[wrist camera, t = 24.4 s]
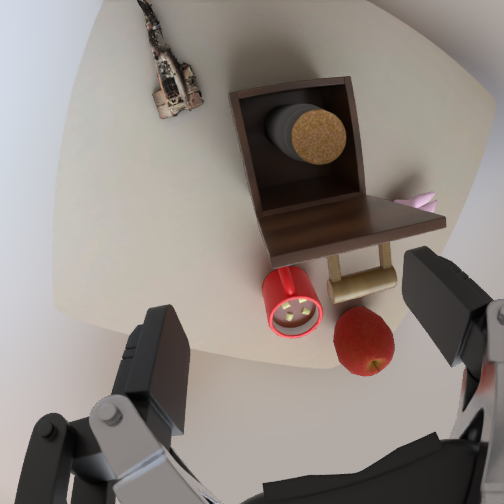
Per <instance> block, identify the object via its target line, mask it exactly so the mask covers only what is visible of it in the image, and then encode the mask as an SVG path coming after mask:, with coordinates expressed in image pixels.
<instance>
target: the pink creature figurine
mask: <svg viewBox="0 0 504 504" xmlns="http://www.w3.org/2000/svg"><path fill="white" fill-rule="evenodd" d="M434 195H435V192H428V193H424V194H420V195H417V196H415V197H413V198H412V199H410V200H394V201H393V202H396V203H400V204H403V205H407V206H411V207H414V208H418V207H420V206H422V205H424V204H425V203H427V202H428V201H429V200H430V199H431V198H432V197H433V196H434ZM436 205H437V200H435V201H433V202H430V203H428V204H426V205H424V206H422V207H420V208H418V209H421V210H425V211H428V212H431V213H433V211H434V210H435V207H436Z"/></svg>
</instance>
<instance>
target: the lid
mask: <svg viewBox="0 0 504 504" xmlns="http://www.w3.org/2000/svg"><path fill="white" fill-rule="evenodd" d="M257 221H258V225H259V229H260V232H261V235H262V238H263V242H264V245H265V248H266V251H267V254H268V258H269V261H270V264H271V268H272V269H276V268H280V267H285V266H289V265H294V264H298V263H302V262H307V261H311V260H315V259H320V258H324V257H327V262H328V269H329V276H330V279H329V280H328V281H327V288H328V293H329V297H330V300H331V302H332V303H333V304H336V303H340V302H344V301H348V300H351V299H355V298H359V297H362V296H366V295H370V294H373V293H377V292H380V291H384V290H387V289H390V288H394V287H395V286H396V285H397V275H396V271H395V269H394V267H393V266H392V265H391V251H390V242H391V241H395V240H399V239H403V238H407V237H411V236H415V235H419V234H423V233H426V232H430V231H434V230H438V229H442V228H446V217H445V216H441V215H438V214H435V213H431V212H428V211H425V210H421V209H418V208H414V207H411V206H407V205H403V204H400V203H396V202H392V201H388V200H384V199H381V198H377V197H373V196H369V195H365V196H360V197H355V198H350V199H345V200H340V201H335V202H330V203H325V204H320V205H315V206H310V207H305V208H301V209H296V210H291V211H286V212H282V213H277V214H273V215H268V216H263V217H259V218H257ZM374 245H378V247H379V258H380V266H379V267H376V268H372V269H368V270H364V271H360V272H356V273H353V274H349V275H345V276H341V272H340V264H339V257H338V254H341V253H345V252H349V251H354V250H358V249H362V248H366V247H370V246H374Z"/></svg>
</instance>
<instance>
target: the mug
mask: <svg viewBox="0 0 504 504" xmlns="http://www.w3.org/2000/svg"><path fill="white" fill-rule="evenodd" d="M262 292H263V297H264V303H265V308H266V313H267V318H268V323H269V327H270V328H271V330H272V331H273V332H274V333H275V334H277V335H278V336H281V337H284V338H298V337H302V336H305V335H307V334H309V333H311V332H312V331H313V330H315V329H316V327H317V326H318V325H319V324H320V322H321V320H322V317H323V308H322V306H321V303H320V301H319V299H318V297H317V294H316V292H315V290H314V288H313V285H312V283H311V281H310V279H309V276H308V275H307V274H306V272H304V271H303V270H302V269H300V268H297V267H292V266H285V267H280V268H277V269H276V270H274V271H273V272H271V273H270V274H269V275H268V276H267V277H266V279H265V281H264V283H263V286H262Z"/></svg>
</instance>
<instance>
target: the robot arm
mask: <svg viewBox="0 0 504 504" xmlns="http://www.w3.org/2000/svg"><path fill="white" fill-rule="evenodd" d="M402 295H403V299H404V301H405V303H406V305H407V306H408V307H409V309H410V310H411V311H412V313H413V314H414V315H415V317H416V318H417V319H418V321H419V322H420V323H421V325H422V326H423V328H424V329H425V330H426V332H427V333H428V334H429V336H430V337H431V339H432V340H433V342H434V343H435V344H436V346H437V347H438V348H439V350H440V352H441V353H442V354H443V356H444V357H445V359H446V360H447V362H448V363H449V365H450V366H451V367H453V366H455V365H457V364H460V363H461V362H463V363H464V364H465V365H466V367H465V369H464V372H463V380H462V389H461V395H460V402H459V408H458V414H457V419H456V422H455V425H454V428H453V430H452V432H451V435H450V437H449V439H444V440H439V438H438V436H437V434H436V432H433V433H431V434H429V435H427V436H425V437H423V438H420V439H418V440H416V441H414V442H411V443H409V444H406V445H404V446H402V447H399V448H397V449H396V450H394V451H393V452H391V453H390V454H388V455H386V456H385V457H383V458H382V459H380V460H379V461H377V462H376V463H374V464H372V465H371V466H369V467H367V468H366V469H364V470H362V471H360V472H357V473H353V474H337V475H307V476H302V477H297V478H292V479H286V480H281V481H275V482H268V483H263V491H264V492H263V493H260V494H258V495H255V496H254V497H251V498H249V499H247V500H246V501H244V502H242V503H241V504H504V299H498V300H495V301H494V300H493V299H492V298H491V297H490V296H489V295H488V294H487V293H486V292H485V291H484V290H483V289H481V287H479V286H478V285H477V284H476V283H475V282H474V281H473V280H472V279H471V278H469V277H468V275H467V274H466V273H464V272H462V271H461V269H460V268H459V267H458V266H457V265H456V264H454V263H453V262H452V261H450V260H448V259H445V258H443V257H441V256H437V255H436V254H435V253H434V252H433V251H432V250H431V249H429V248H428V247H427V246H422V247H418V248H415V249H411V250H407V251H406V252H405V254H404V265H403V279H402ZM125 348H126V350H125V351H124V354H123V356H122V358H123V360H121V363H120V366H119V370H118V373H117V376H116V379H115V383H114V386H113V389H112V393H111V395H110V396H107V397H105V398H103V399H101V400H100V401H99V402H97V403H96V405H95V406H94V407H93V409H92V410H91V413H90V416H89V417H86V418H83V419H80V420H76V421H72V422H68V421H67V420H66V419H65V418H64V417H63V416H62V415H60V414H58V413H49V414H47V415H45V416H43V417H42V418H40V420H39V421H38V422H37V423H36V425H35V426H34V429H33V432H32V435H31V438H30V441H29V445H28V449H27V452H26V456H25V459H24V463H23V467H22V471H21V475H20V479H19V484H18V488H17V493H16V498H15V503H14V504H67V500H66V498H67V491H68V484H69V478H70V473H72V474H73V475H75V477H74V483H73V491H72V498H71V504H115V498H116V497H117V498H118V500H119V502H120V503H121V504H224V503H222V502H221V501H220V500H219V499H218V498H217V497H216V496H215V495H214V494H213V493H212V492H211V491H210V490H209V489H208V488H207V487H206V486H205V485H204V484H203V483H202V482H201V481H200V480H199V479H198V478H197V477H196V475H195V474H194V473H193V472H192V471H191V470H190V469H189V467H188V466H187V465H186V464H185V463H184V461H183V460H182V459H181V458H180V456H179V455H178V454H177V453H176V452H175V450H174V449H173V448H172V447H171V436H175V435H183V434H184V422H185V408H186V396H187V384H188V373H189V363H190V346H189V342H188V339H187V336H186V334H185V332H184V330H183V328H182V325H181V323H180V321H179V319H178V317H177V314H176V312H175V310H174V308H173V306H172V305H170V304H169V305H163V306H158V307H153V308H149V309H148V311H147V314H146V317H145V320H144V323H143V324H142V325H138V326H137V327H136V328H135V329H134V331H133V332H132V333H131V335H130V336H129V338H128V341H127V344H126V347H125Z"/></svg>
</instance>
